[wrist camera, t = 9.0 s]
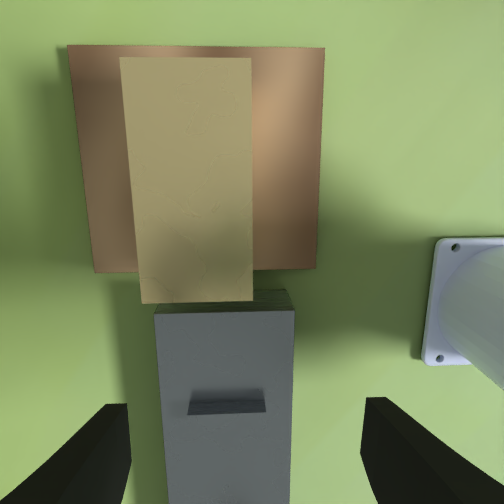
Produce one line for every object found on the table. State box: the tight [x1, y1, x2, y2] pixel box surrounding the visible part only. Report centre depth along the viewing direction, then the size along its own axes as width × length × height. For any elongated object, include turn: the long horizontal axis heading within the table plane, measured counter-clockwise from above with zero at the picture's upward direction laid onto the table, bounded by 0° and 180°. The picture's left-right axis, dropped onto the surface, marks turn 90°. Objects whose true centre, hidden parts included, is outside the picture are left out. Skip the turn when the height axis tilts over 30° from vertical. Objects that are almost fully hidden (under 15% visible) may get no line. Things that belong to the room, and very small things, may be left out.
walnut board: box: [67, 45, 325, 273], centre depth 18 cm, size 12×11×1 cm
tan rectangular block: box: [119, 57, 253, 304], centre depth 16 cm, size 4×9×5 cm, turn 0°
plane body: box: [154, 290, 295, 504], centre depth 20 cm, size 7×22×7 cm, turn 0°
